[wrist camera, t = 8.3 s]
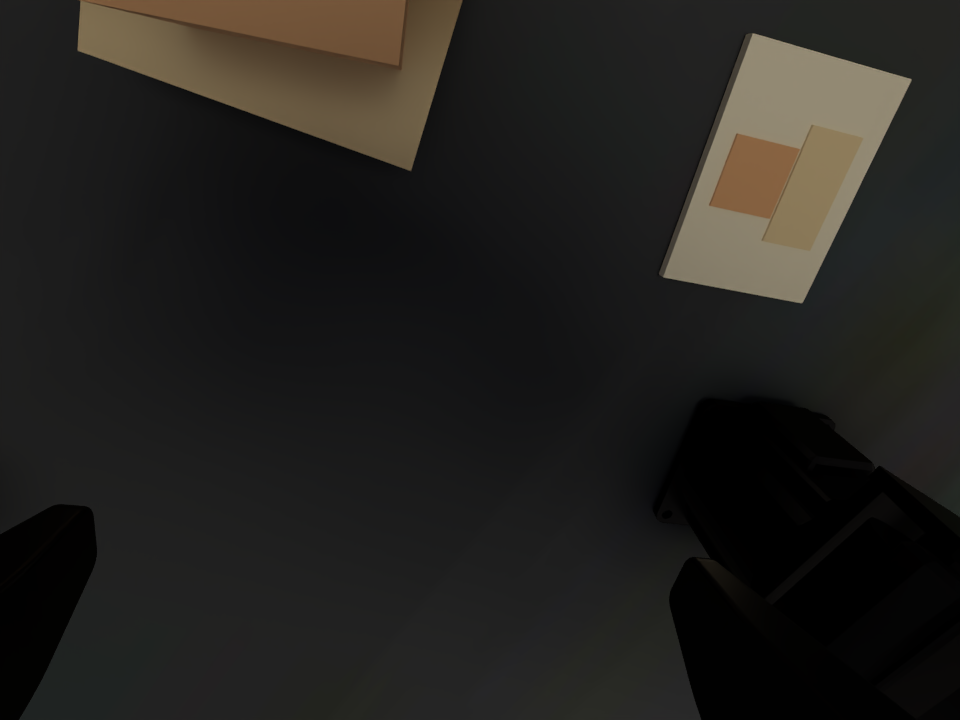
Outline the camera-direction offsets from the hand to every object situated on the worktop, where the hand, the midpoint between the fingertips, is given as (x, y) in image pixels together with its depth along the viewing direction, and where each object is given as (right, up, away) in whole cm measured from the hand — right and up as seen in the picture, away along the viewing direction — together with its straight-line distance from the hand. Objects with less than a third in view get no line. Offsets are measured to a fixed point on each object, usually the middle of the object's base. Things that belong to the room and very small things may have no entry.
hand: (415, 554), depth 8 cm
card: (+11, +9, +11) cm, 19 cm away
